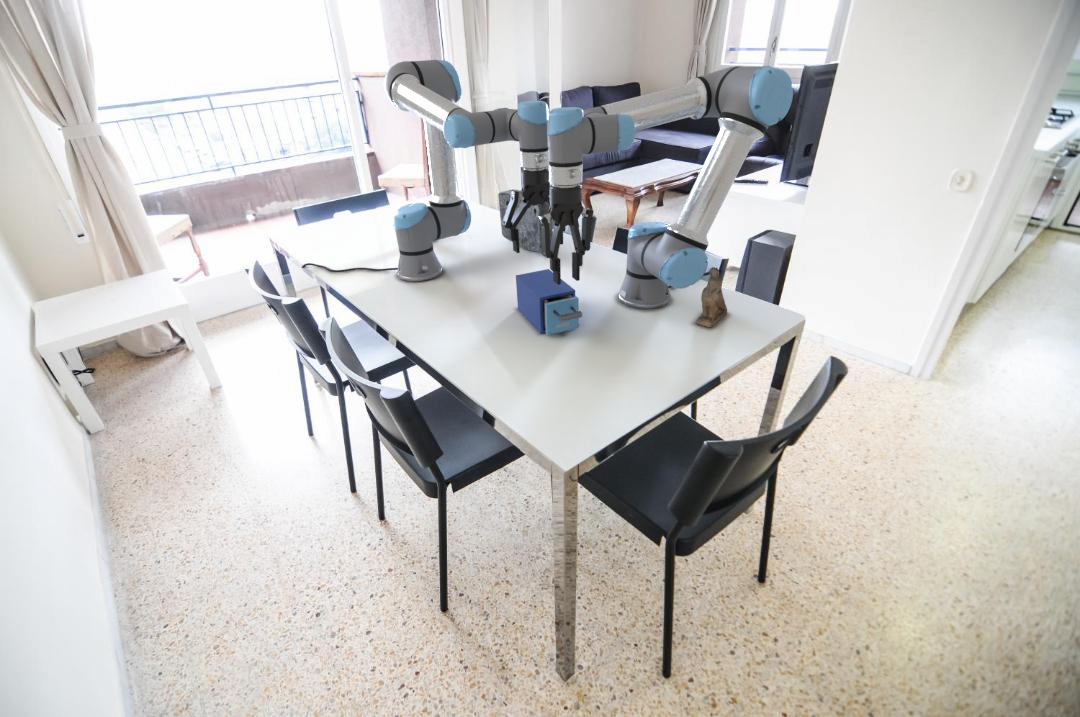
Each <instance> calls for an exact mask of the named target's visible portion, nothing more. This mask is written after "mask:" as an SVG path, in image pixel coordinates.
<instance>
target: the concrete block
mask: <svg viewBox="0 0 1080 717" xmlns="http://www.w3.org/2000/svg"><path fill="white" fill-rule="evenodd" d="M511 190H512V189H507V190H504V191H501V192H498V195H497V196H498V206H499V207H498V208H499V218H500V226H501V235H502V236H503V238H505V239H506V240H508V241H510V242H511V243H513V241H511V240H510V238H509V229H508V228H505V227H503V226H502V221H503V219H504V216H505V213H506V210H507V207H508V205H509V202H510V199H511ZM515 190H516V191H518V190H519V189H515ZM523 198H524V197H523V196H522V195H521V196H520V199H519V200H518V204H517V206H516V209H515V212H514V214H515V213H516V211H517V210H518V208H519V206H520V205H521V202H522V200H523ZM549 208H550V207H549V206H548V205H547V204H546V203H544V204H542V205H540V204H538V205H536V206H532V205H531V206H530V208H528V209H527V211H526V212H525V214H524V215H523V217H522V219H521V220H520V222H519V223H518V225H517V227H516V228H517V229H518V232H519V247H521V248H523V249H524V250H527V251H531V252H542V244H541V224H540V222H539V219H538V216H539V215H544V214H546V213H548V210H549ZM513 216H514V215H513ZM512 218H513V217H512ZM553 224H554V220H553V219H552V218H550V223H549V227H550V245H551V240H552V234H553Z"/></svg>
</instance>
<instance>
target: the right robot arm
mask: <svg viewBox="0 0 1080 717" xmlns="http://www.w3.org/2000/svg"><path fill="white" fill-rule="evenodd" d="M793 96H794V89H793V81H792V79H791V77H790V75H789V73H788V72H787V71H786V70H784V69H783V68H781V67H776V66H770V65H763V66H741V65H736V66H730V67H725V68H722V69H718V70H715V71H712V72H708V73H706V74H703V75H699V76H695V77H692V78H691V79H689V80H688V81H687V83H686V84H682V85H678V86H674V87H670V88H667V89H661V90H658V91H655V92H650V93H647V94H642V95H639V96H634V97H631V98H627V99H623V100H619V101H615V102H611V103H607V104H603V105H600V106H595V107H591V108H587V109H583V108H582V107H578V106H569V107H568V106H567V107H566V106H565V107H562V106H561V107H555V108H552V109H551V110H549V111H548V131H547V134H548V148H549V166H548V168H549V183H550V187H549V194H550V195H549V197H550V208H549V210H548V213H546V214H544V215H539V216H538V219H539V222H540V224H541V244H542V251H541V255H542V256H543V257H544V258H546V259H549V270H551V271H552V272H553V281H554V282H555V283H556V284H558V285H559V284H561V279H562V278H561V271H562V270H561V258H560V257H558V256H559V251H560V245H561V244H560V241H561V236H562V232H563V231H564V227H565V226H566V227H569V230H570V234H571V239H572V243H573V248H574V251H573V252H571V278H572V279H574V280H575V281H576V282H578V281H580V280H581V277H580V275H581V267H583V264H584V263H583V261H584V256H585V254H586V252H587V251H588V252H589V251H590V250H591V236H592V219H593V215H594V212H595V211H594V210H593V209H591V208H589V207H584V205H583V185H582V183H583V173H584V172H583V170H584V169H583V168H584V167H583V166H584V155H591V154H592V155H593V154H604V153H613V152H615V153H618V152H622V151H627V150H629V149H630V148H631V147H632V146H633V144H634V142H635V138H636V132H638V131H641V130H645V129H649V128H652V127H656V126H657V127H658V126H661V125H663V124H668V123H671V122H675V121H679V120H684V119H687V118H690V119H692V120H699V119H703V118H717V123H718V125H719V130H718V133H717V135H716V137H715V140H714V142H713V143H712V146H711V148H710V150H709V152H708V154H707V155H706V156H707V157H706V158H705V161H704V163H703V164H702V167H701V169H700V171H699V173H698V175H697V178H696V179H695V182H694V183H693V185H692V188H691V190H690V192H689V194H688V197H687V198H686V200H685V203H684V205H683V207H682V209H681V211H680V213H679V215H678V217H677V219H676V222H674V223H673V224H671V225H670V224H669V223H668V222H661V221H647V222H639V223H635V224H633V225H631V226H630V228H629V229H628V235H627V252H626V269H625V270H626V271H625V276H624V278H623V280H622V283H621V286H620V288H619V291H618V300H619V301H620V302H621V303H622V304H623V305H624V306H627V307H630V308H633V309H640V310H654V309H659V308H662V307H664V306H666V305H667V304H669V302H670V300H671V299H670V298H671V292H670V289H672V288H674V289H678V290H679V289H686V288H689V287H690V286H694V285H695V284H697V283H698V282H699V281H700V280H701V279H702V278H703V277H705V276H708V275H710V273H709V271H707V269H708V265H709V261H708V255H707V254H706V251H707V249H708V246H709V240H708V233H709V232H710V229H711V228H712V226H713V224H714V222H715V220H716V218H717V215H718V214H719V212H720V210H721V208H722V206H723V204H724V202H725V200H726V198H727V196H728V194H729V192H730V190H731V188H732V186H733V184H734V182H735V180H736V179H737V176H738V174H739V172H740V170H741V168H742V166H743V164H744V162H745V160H746V159H747V156H748V154H749V153H750V150H751V148H752V146H753V144H754V143H755V142H756V141H758V140H760V139H763V138H764V136H765V134H766V133H767V131H768V128H769V127H770V126H773V125H776V124H777V123H779V122H780V121H782V120H783V119H784V118H785V117H786V116H787V114H788V112H789V110H790V108H791V105H792V102H793ZM580 217H581V232H580V223H579V219H580ZM550 218H552V219H553V234H552V240H551V245H550V227H549V223H550ZM566 227H565V228H566ZM564 232H565V231H564ZM564 232H563V233H564Z"/></svg>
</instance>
